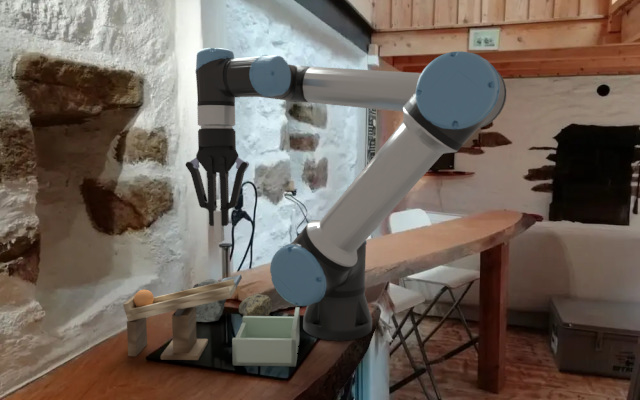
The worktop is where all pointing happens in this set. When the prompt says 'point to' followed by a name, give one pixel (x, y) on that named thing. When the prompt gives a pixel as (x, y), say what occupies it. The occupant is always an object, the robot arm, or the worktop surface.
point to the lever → (183, 299)
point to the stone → (209, 306)
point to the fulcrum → (183, 337)
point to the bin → (267, 341)
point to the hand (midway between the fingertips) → (219, 240)
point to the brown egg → (143, 298)
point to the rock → (256, 305)
